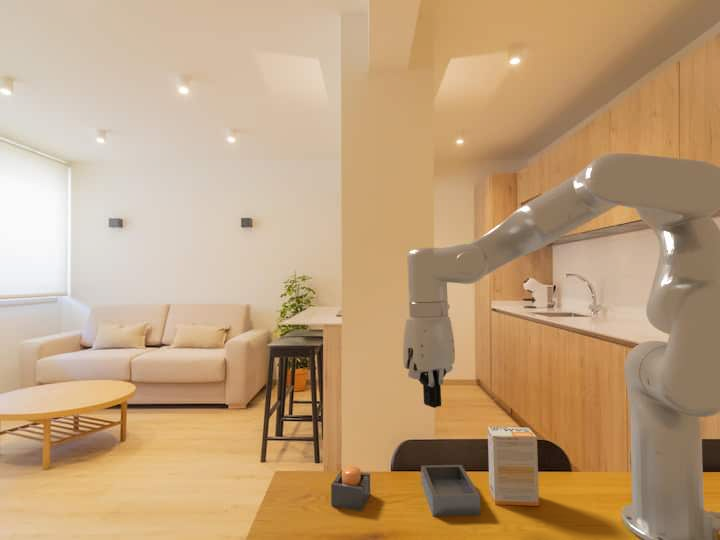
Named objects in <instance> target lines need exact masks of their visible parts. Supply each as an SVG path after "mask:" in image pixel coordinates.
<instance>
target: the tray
mask: <svg viewBox="0 0 720 540" xmlns="http://www.w3.org/2000/svg"><path fill="white" fill-rule="evenodd" d="M420 481H421V482H420V483H421V485H422V489H423V491H424V494H425V497H426V500H427V503H428V506H429V509H430V512H431V515H432V517H451V516H452V517H455V516H457V517H458V516H460V517H462V516H463V517H464V516H481V495H480V493H479V491H478V490H477V488H476V487H475V485H474V483H473V481H472V480H471V477H469V475H468V473H467V471H466V470H465V468H464V467H463V464H444V465H443V464H442V465H440V464H437V465H436V464H435V465H433V464H432V465H429V464H428V465H420Z"/></svg>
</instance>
